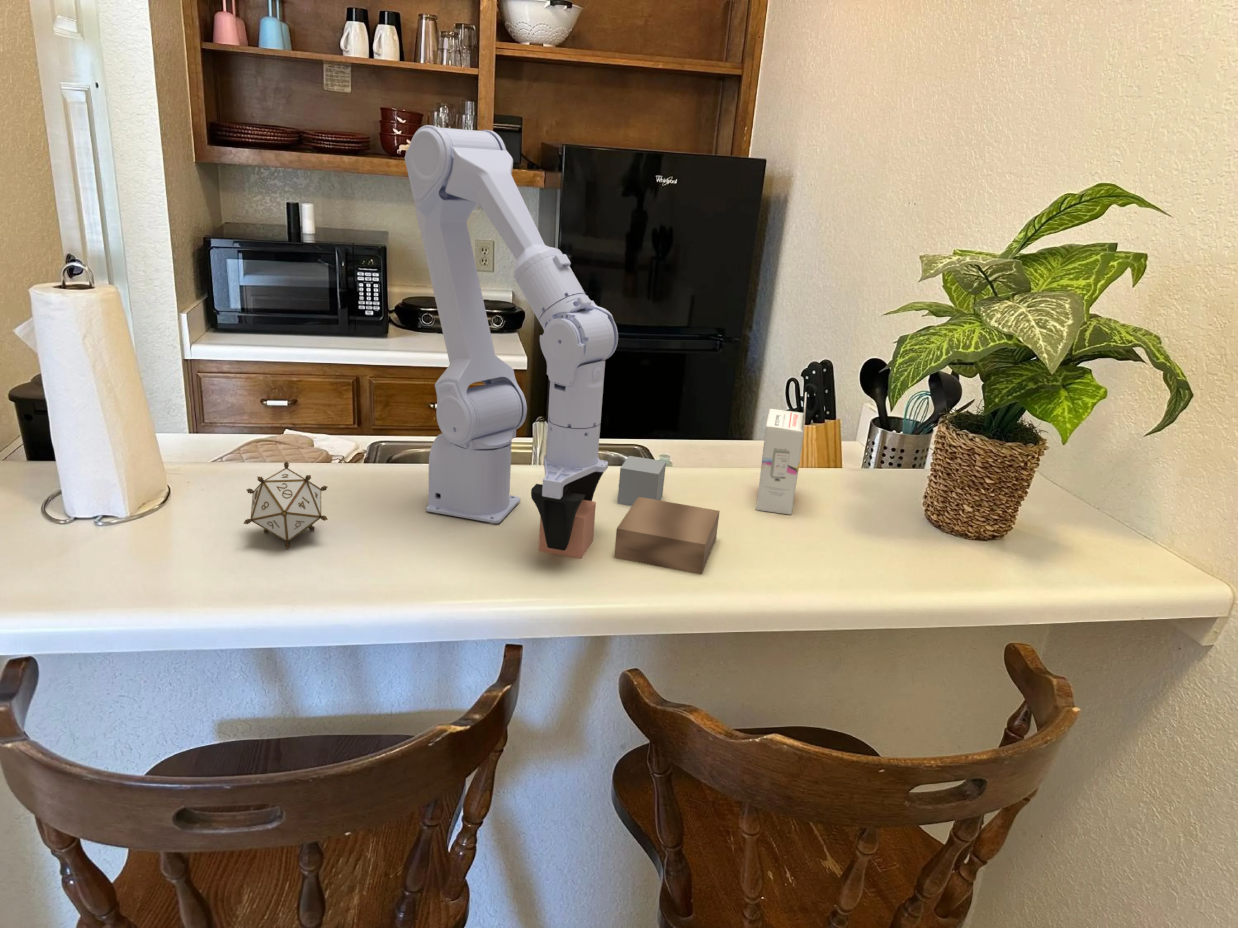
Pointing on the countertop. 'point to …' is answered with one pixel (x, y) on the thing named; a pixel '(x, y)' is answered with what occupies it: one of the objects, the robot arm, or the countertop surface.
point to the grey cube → (641, 480)
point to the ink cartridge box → (780, 460)
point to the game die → (286, 504)
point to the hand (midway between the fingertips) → (567, 534)
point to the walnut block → (667, 535)
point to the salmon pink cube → (575, 532)
